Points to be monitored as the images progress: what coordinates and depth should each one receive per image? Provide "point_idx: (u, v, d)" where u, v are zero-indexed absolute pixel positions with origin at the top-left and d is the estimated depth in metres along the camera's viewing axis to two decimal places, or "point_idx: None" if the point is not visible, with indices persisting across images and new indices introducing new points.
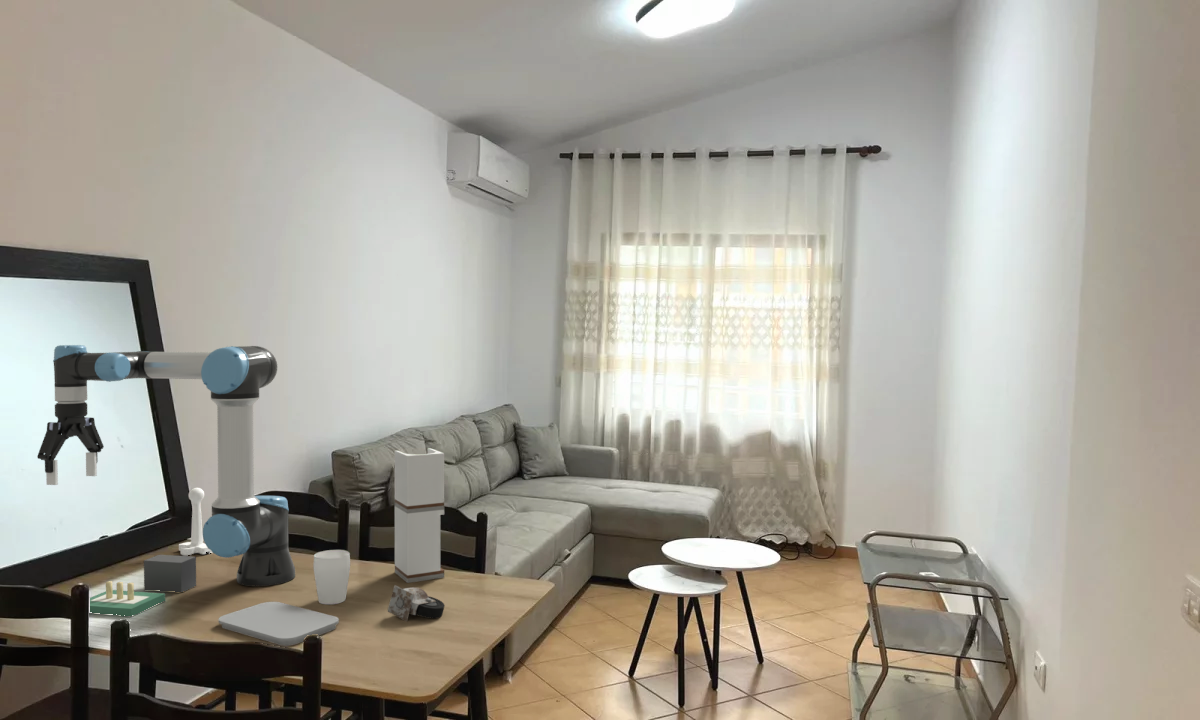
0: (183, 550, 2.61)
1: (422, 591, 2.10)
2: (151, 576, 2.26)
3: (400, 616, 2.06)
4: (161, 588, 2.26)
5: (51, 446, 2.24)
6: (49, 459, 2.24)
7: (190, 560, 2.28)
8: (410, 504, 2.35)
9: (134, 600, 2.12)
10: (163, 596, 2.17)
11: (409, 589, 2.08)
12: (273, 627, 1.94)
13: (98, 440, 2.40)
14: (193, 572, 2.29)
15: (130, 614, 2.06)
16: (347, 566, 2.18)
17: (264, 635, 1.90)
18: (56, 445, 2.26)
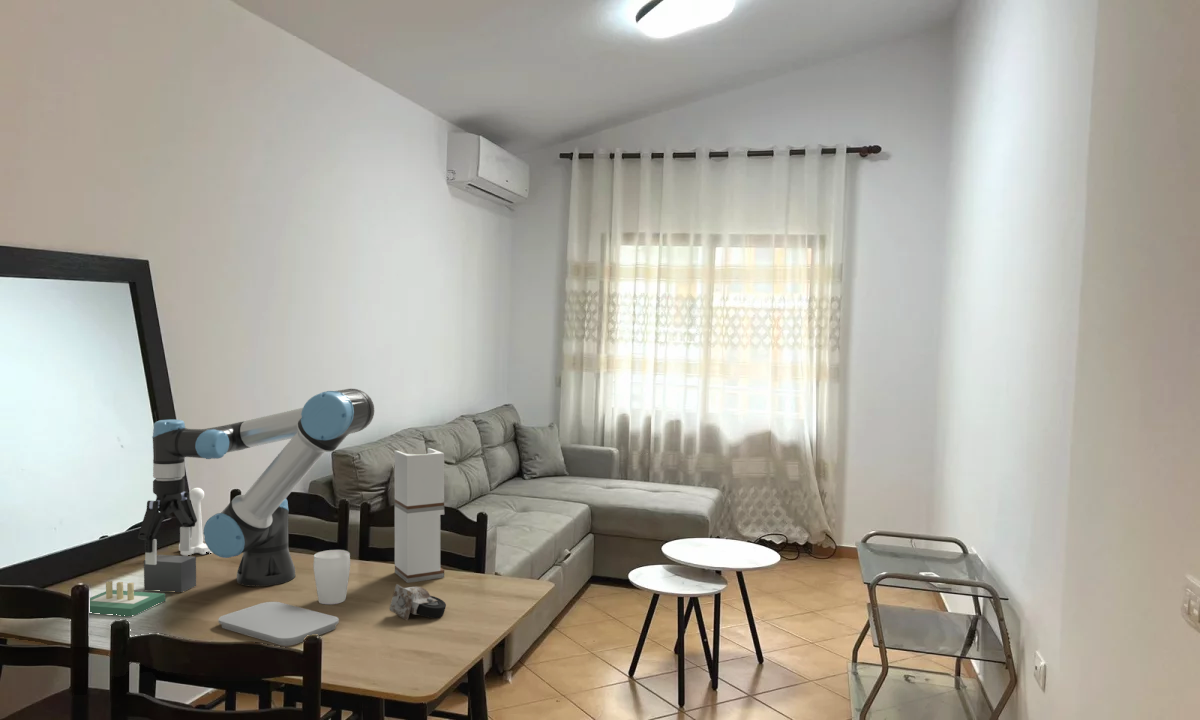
0: None
1: (424, 590, 2.11)
2: (151, 576, 2.26)
3: (401, 615, 2.06)
4: (161, 588, 2.26)
5: (151, 526, 2.20)
6: (149, 539, 2.20)
7: (190, 560, 2.28)
8: (410, 504, 2.35)
9: (134, 600, 2.12)
10: (163, 596, 2.17)
11: (411, 589, 2.09)
12: (273, 627, 1.94)
13: (192, 514, 2.36)
14: (193, 572, 2.29)
15: (130, 614, 2.06)
16: (347, 566, 2.18)
17: (264, 635, 1.90)
18: (156, 524, 2.22)
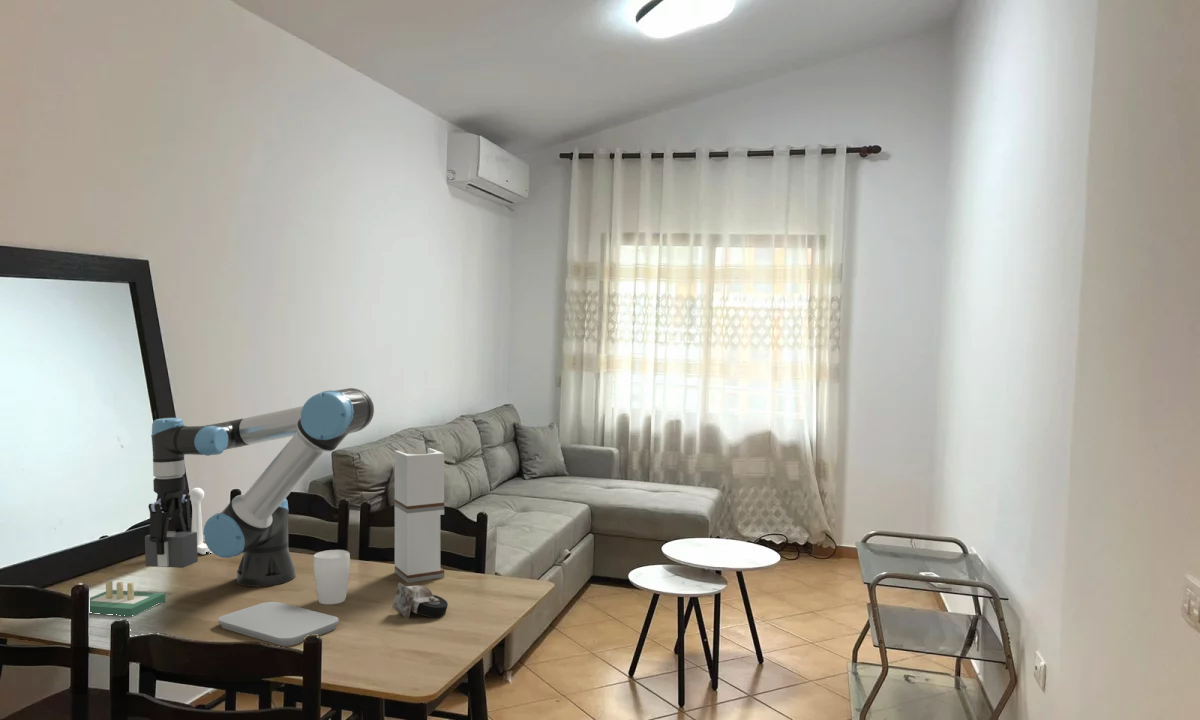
0: None
1: (427, 589, 2.12)
2: (152, 552, 2.26)
3: (403, 613, 2.08)
4: None
5: (160, 528, 2.22)
6: (161, 541, 2.23)
7: (191, 535, 2.28)
8: (410, 504, 2.35)
9: (134, 600, 2.12)
10: (163, 596, 2.17)
11: (413, 587, 2.10)
12: (273, 627, 1.94)
13: (188, 520, 2.33)
14: (194, 547, 2.29)
15: (130, 614, 2.06)
16: (347, 566, 2.18)
17: (264, 635, 1.90)
18: (163, 526, 2.24)
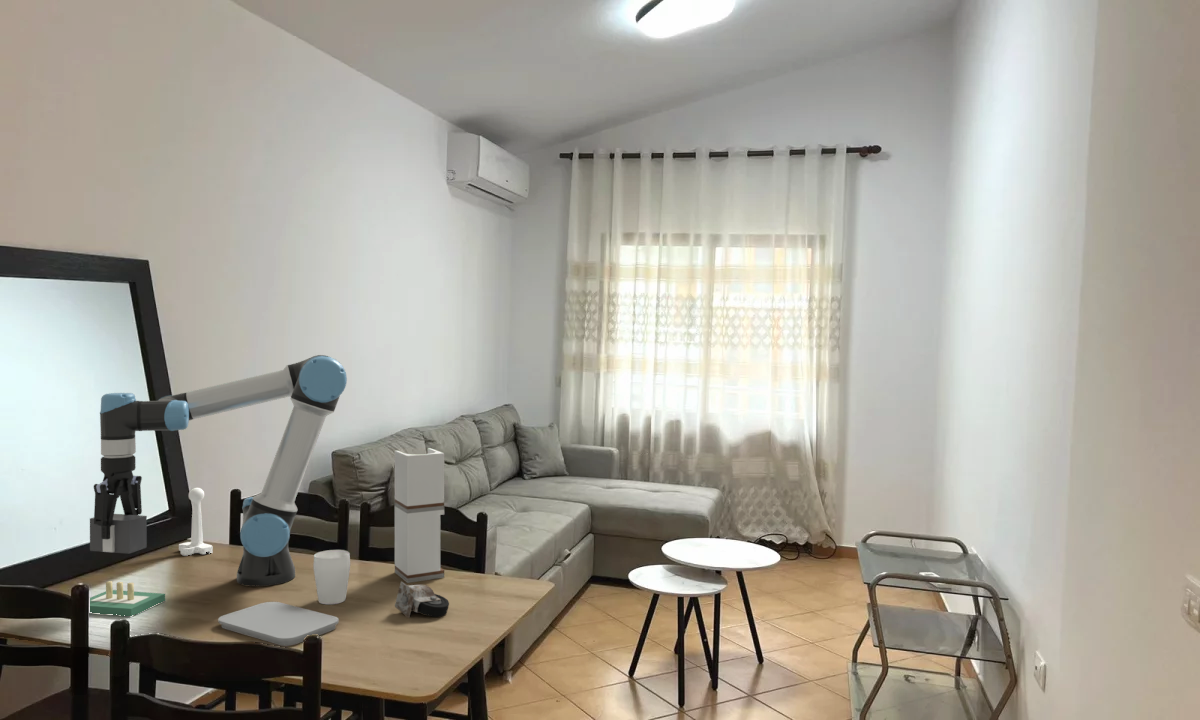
0: (183, 550, 2.61)
1: (429, 589, 2.12)
2: (97, 535, 2.10)
3: (404, 612, 2.08)
4: None
5: (105, 510, 2.07)
6: (106, 525, 2.08)
7: (140, 519, 2.12)
8: (410, 504, 2.35)
9: (134, 600, 2.12)
10: (163, 596, 2.17)
11: (415, 587, 2.10)
12: (273, 627, 1.94)
13: (138, 503, 2.18)
14: (143, 532, 2.14)
15: (130, 614, 2.06)
16: (347, 566, 2.18)
17: (264, 635, 1.90)
18: (109, 508, 2.09)
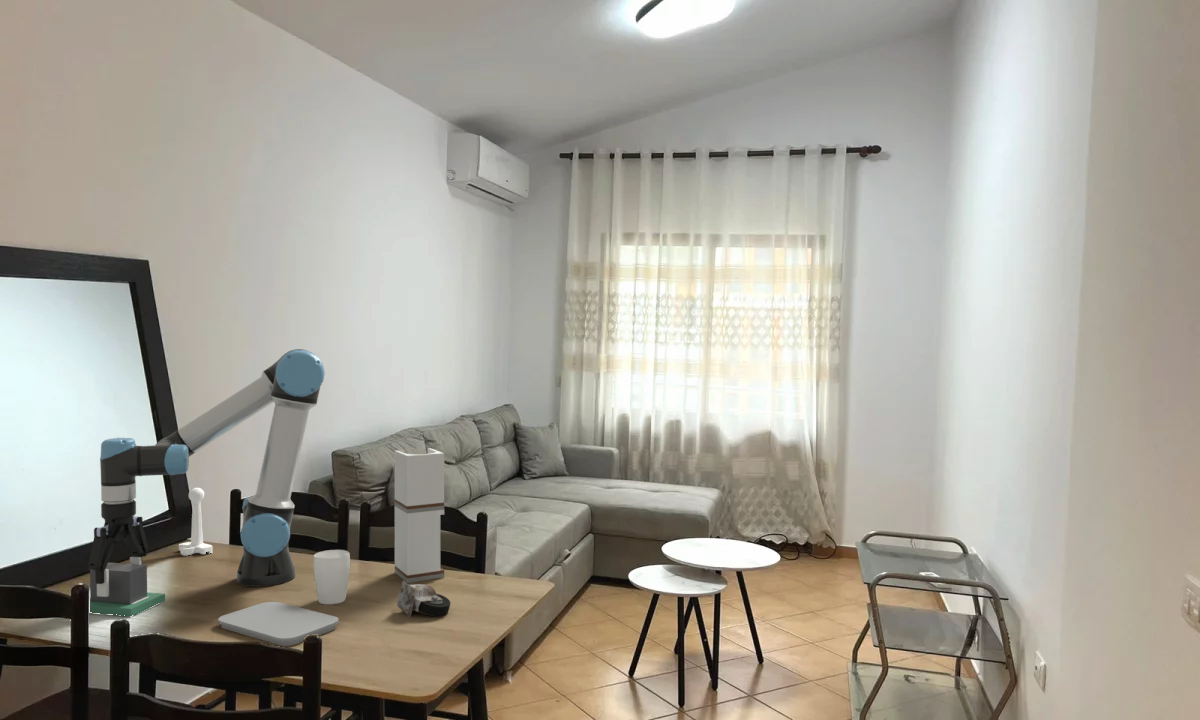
0: (183, 550, 2.61)
1: (430, 588, 2.13)
2: None
3: (405, 611, 2.09)
4: (109, 599, 2.10)
5: (101, 555, 2.05)
6: (100, 569, 2.06)
7: (140, 569, 2.12)
8: (410, 504, 2.35)
9: None
10: (163, 596, 2.17)
11: (416, 586, 2.11)
12: (273, 627, 1.94)
13: (144, 542, 2.20)
14: (143, 581, 2.14)
15: (130, 614, 2.06)
16: (347, 566, 2.18)
17: (264, 635, 1.90)
18: (106, 552, 2.07)
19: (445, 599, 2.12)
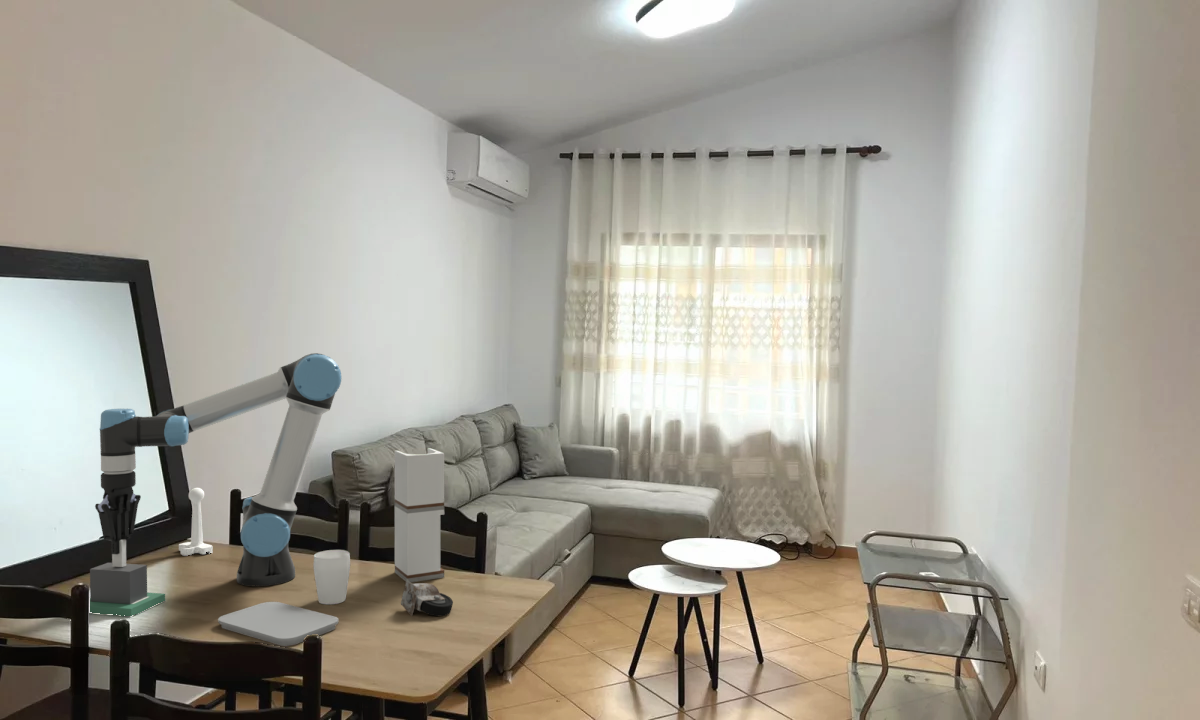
0: (183, 550, 2.61)
1: (434, 588, 2.13)
2: (98, 586, 2.10)
3: (408, 610, 2.10)
4: (109, 599, 2.10)
5: (112, 527, 2.09)
6: (116, 540, 2.11)
7: (140, 569, 2.12)
8: (410, 504, 2.35)
9: None
10: (163, 596, 2.17)
11: (420, 585, 2.12)
12: (273, 627, 1.94)
13: (132, 522, 2.16)
14: (143, 581, 2.14)
15: (130, 614, 2.06)
16: (347, 566, 2.18)
17: (264, 635, 1.90)
18: (116, 525, 2.10)
19: (448, 599, 2.13)
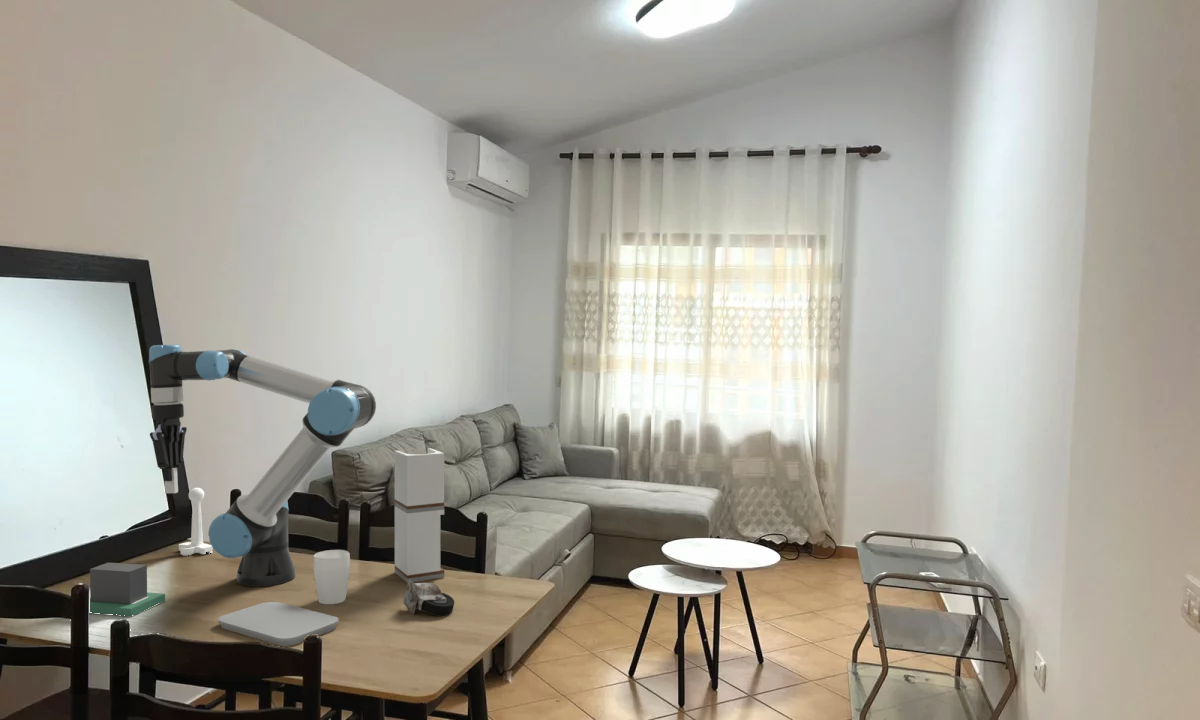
0: (183, 550, 2.61)
1: (436, 587, 2.13)
2: (98, 586, 2.10)
3: (410, 609, 2.11)
4: (109, 599, 2.10)
5: (166, 454, 2.22)
6: (168, 467, 2.23)
7: (140, 569, 2.12)
8: (410, 504, 2.35)
9: None
10: (163, 596, 2.17)
11: (421, 585, 2.12)
12: (273, 627, 1.94)
13: (181, 452, 2.29)
14: (143, 581, 2.14)
15: (130, 614, 2.06)
16: (347, 566, 2.18)
17: (264, 635, 1.90)
18: (168, 453, 2.23)
19: (450, 599, 2.13)
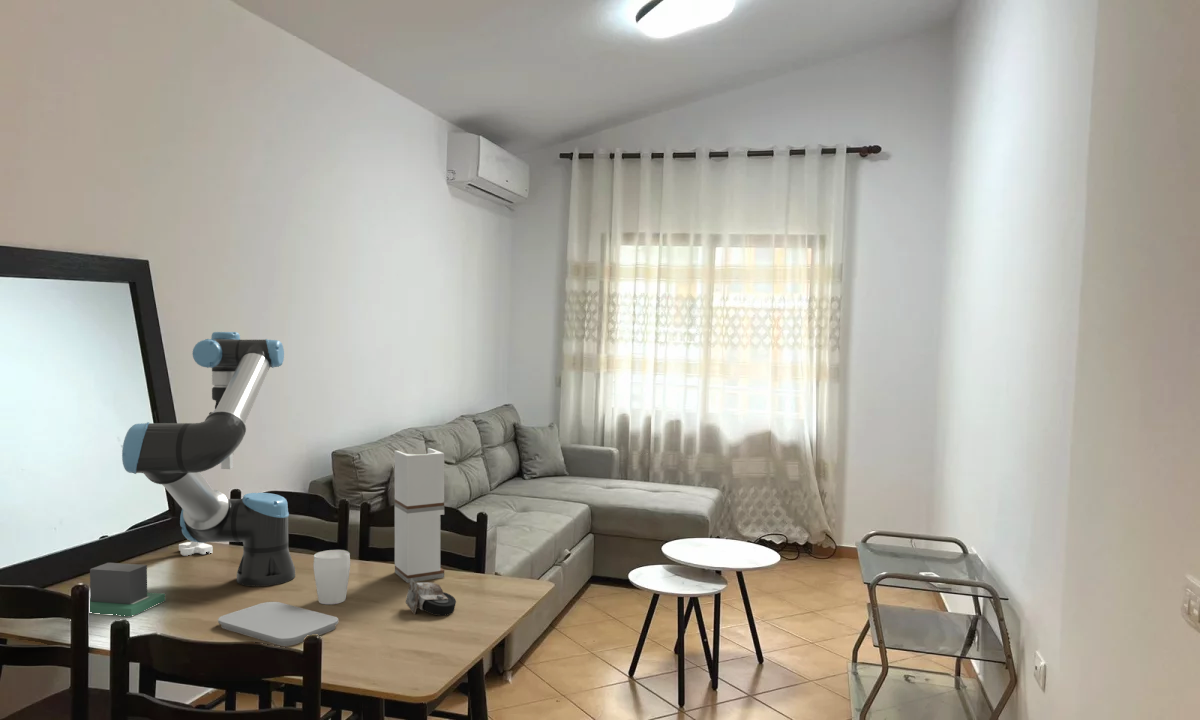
0: (183, 550, 2.61)
1: (437, 587, 2.14)
2: (98, 586, 2.10)
3: (411, 609, 2.11)
4: (109, 599, 2.10)
5: None
6: None
7: (140, 569, 2.12)
8: (410, 504, 2.35)
9: None
10: (163, 596, 2.17)
11: (423, 584, 2.12)
12: (273, 627, 1.94)
13: None
14: (143, 581, 2.14)
15: (130, 614, 2.06)
16: (347, 566, 2.18)
17: (264, 635, 1.90)
18: None
19: (451, 598, 2.13)
